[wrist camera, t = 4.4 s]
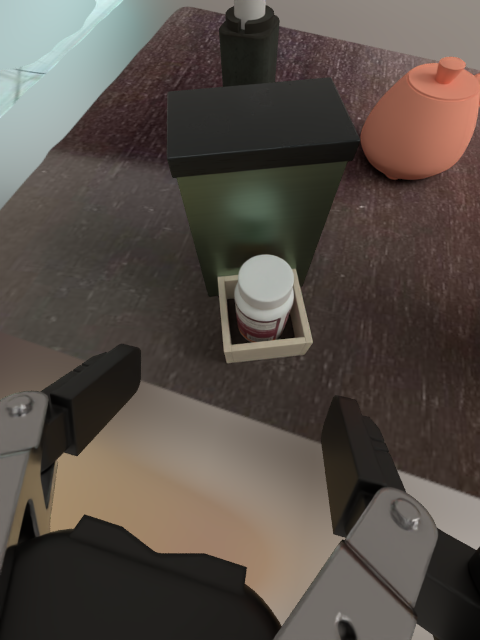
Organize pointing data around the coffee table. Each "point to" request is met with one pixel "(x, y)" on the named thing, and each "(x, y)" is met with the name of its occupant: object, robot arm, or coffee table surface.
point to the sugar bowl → (423, 121)
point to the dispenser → (258, 169)
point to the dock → (264, 348)
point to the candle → (249, 43)
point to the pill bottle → (263, 297)
